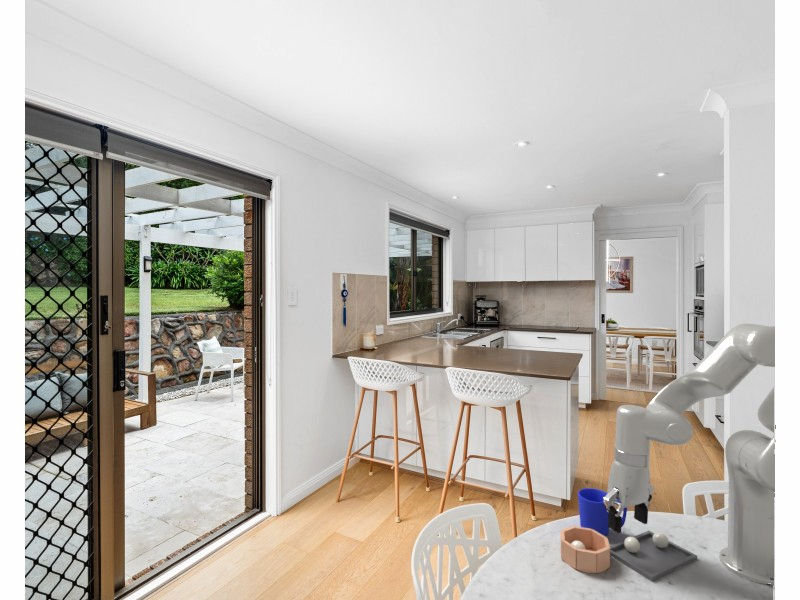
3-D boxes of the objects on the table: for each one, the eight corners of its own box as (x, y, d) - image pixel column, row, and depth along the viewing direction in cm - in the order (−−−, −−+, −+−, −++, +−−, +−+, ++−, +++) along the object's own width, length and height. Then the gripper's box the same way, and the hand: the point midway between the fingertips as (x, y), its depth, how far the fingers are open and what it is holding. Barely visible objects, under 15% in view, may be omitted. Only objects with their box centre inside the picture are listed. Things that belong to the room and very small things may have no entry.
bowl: (581, 542, 111) (582, 522, 111) (618, 565, 102) (619, 544, 102) (551, 553, 107) (551, 533, 107) (587, 579, 97) (587, 557, 97)
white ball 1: (577, 549, 107) (577, 536, 107) (589, 557, 104) (589, 543, 104) (567, 554, 106) (567, 539, 105) (578, 562, 102) (578, 547, 102)
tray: (648, 534, 114) (648, 530, 114) (697, 560, 104) (697, 555, 104) (604, 553, 107) (604, 548, 107) (651, 582, 96) (651, 577, 96)
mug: (631, 544, 110) (632, 505, 110) (581, 539, 113) (581, 501, 112) (622, 526, 118) (622, 490, 118) (575, 522, 121) (575, 486, 120)
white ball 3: (658, 541, 111) (658, 528, 111) (671, 548, 108) (671, 535, 108) (649, 545, 109) (649, 531, 109) (663, 552, 106) (663, 538, 106)
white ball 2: (630, 545, 109) (630, 532, 109) (643, 553, 106) (643, 539, 106) (620, 549, 108) (621, 535, 107) (634, 557, 104) (634, 543, 104)
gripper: (640, 446, 113) (636, 511, 114) (593, 456, 106) (590, 525, 106) (668, 457, 107) (664, 525, 107) (621, 469, 99) (617, 542, 100)
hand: (627, 525), depth 107 cm, fingers open, 9 cm apart
